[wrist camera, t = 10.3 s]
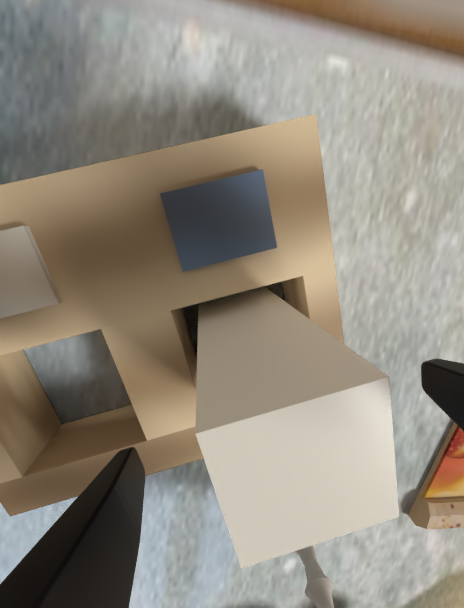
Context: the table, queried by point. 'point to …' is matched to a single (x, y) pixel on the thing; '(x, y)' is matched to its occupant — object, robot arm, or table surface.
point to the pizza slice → (443, 487)
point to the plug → (290, 427)
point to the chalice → (316, 579)
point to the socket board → (148, 288)
